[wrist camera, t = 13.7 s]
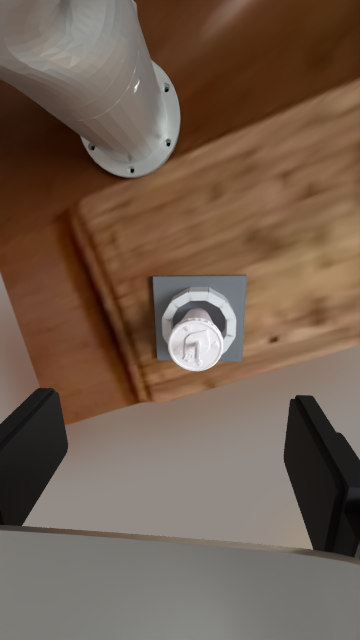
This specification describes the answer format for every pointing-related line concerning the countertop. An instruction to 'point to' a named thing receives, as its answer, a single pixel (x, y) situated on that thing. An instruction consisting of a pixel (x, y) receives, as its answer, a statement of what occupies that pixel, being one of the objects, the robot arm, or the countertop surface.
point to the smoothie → (195, 341)
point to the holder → (209, 294)
